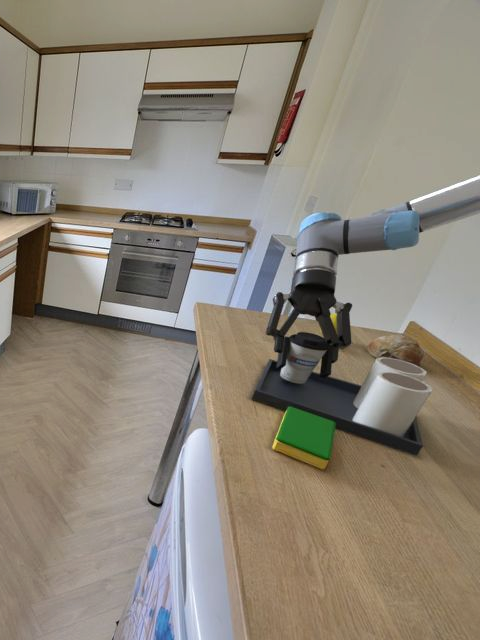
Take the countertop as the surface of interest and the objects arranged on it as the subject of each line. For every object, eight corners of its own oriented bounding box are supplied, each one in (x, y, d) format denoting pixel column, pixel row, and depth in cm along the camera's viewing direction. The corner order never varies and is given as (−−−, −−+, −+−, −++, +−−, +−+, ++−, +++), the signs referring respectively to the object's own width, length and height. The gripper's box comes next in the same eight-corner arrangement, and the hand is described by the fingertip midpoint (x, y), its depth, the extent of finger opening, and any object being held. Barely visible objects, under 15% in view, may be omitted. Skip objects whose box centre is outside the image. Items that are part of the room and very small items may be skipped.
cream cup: (398, 409, 81) (425, 365, 77) (400, 425, 76) (429, 379, 72) (352, 396, 85) (375, 353, 81) (352, 409, 81) (376, 365, 76)
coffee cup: (274, 366, 94) (290, 327, 89) (311, 377, 90) (331, 336, 86) (273, 379, 89) (290, 337, 84) (313, 390, 85) (333, 347, 81)
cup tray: (407, 409, 83) (412, 400, 82) (416, 456, 69) (423, 446, 68) (266, 366, 97) (269, 358, 96) (251, 399, 84) (255, 389, 83)
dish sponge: (271, 449, 69) (276, 437, 68) (284, 415, 79) (288, 405, 78) (323, 470, 65) (330, 458, 64) (330, 432, 74) (336, 421, 73)
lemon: (322, 342, 112) (335, 315, 108) (310, 334, 117) (322, 308, 113) (345, 344, 111) (358, 317, 108) (332, 336, 116) (344, 310, 113)
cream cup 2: (401, 427, 76) (430, 381, 71) (404, 445, 71) (435, 396, 67) (352, 412, 80) (376, 367, 76) (352, 427, 75) (378, 380, 71)
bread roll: (359, 366, 107) (371, 345, 102) (367, 341, 112) (380, 320, 106) (411, 381, 101) (427, 359, 96) (417, 353, 106) (434, 332, 100)
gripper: (359, 292, 91) (352, 388, 85) (256, 278, 98) (242, 365, 92) (380, 275, 84) (374, 378, 78) (268, 261, 92) (253, 353, 85)
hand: (302, 371), depth 85 cm, fingers closed on coffee cup, 7 cm apart
